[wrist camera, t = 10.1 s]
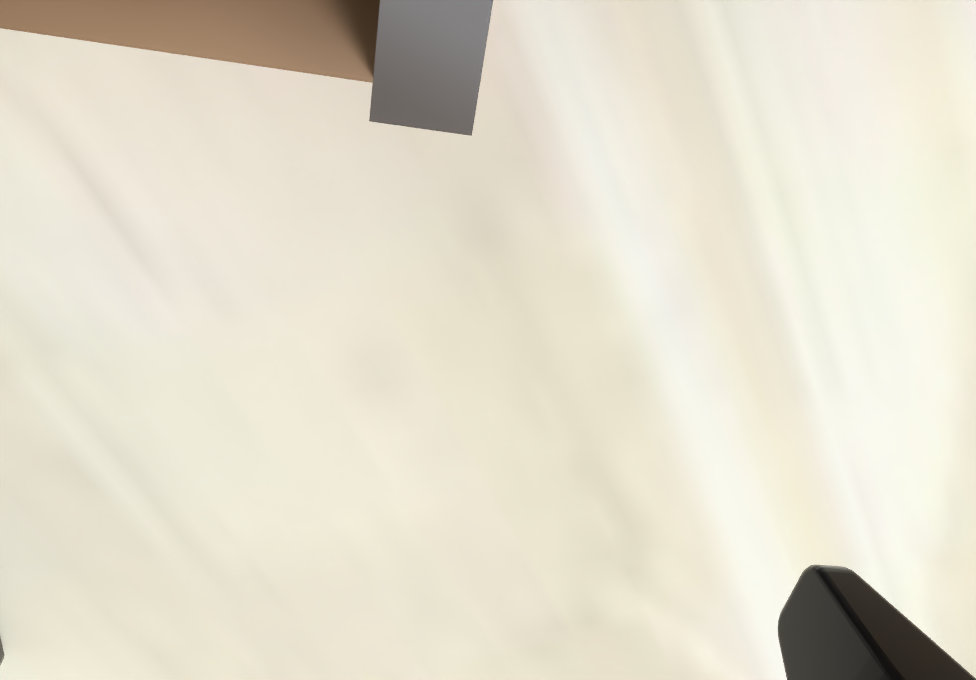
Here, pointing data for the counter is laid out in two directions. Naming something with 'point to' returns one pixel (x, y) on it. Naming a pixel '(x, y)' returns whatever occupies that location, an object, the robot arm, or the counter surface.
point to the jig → (303, 43)
